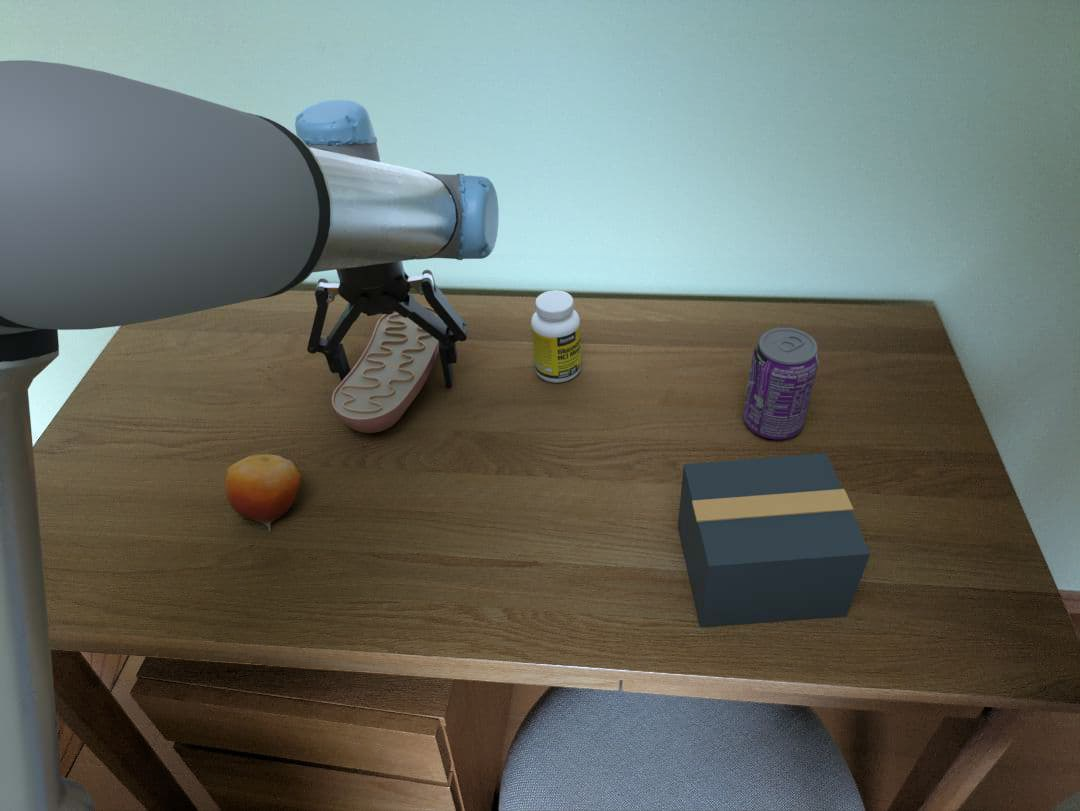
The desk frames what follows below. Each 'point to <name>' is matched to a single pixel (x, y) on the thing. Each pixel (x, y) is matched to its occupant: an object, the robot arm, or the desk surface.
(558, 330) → the pill bottle
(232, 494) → the fruit
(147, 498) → the desk surface
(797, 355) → the beverage can
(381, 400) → the anatomical model
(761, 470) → the dark blue box
